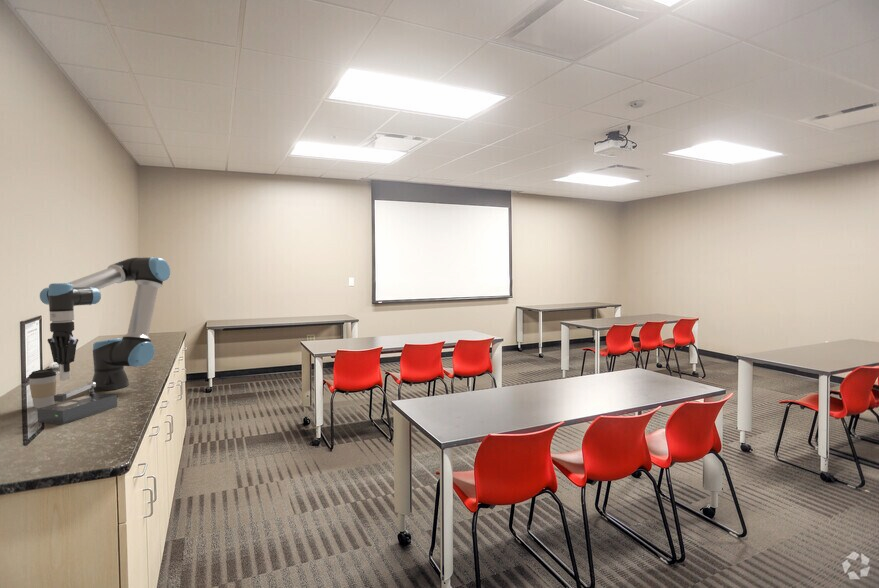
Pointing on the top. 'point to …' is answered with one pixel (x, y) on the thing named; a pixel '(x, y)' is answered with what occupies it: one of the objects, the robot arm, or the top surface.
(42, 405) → the coffee cup
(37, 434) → the top surface
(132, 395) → the top surface
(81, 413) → the lever switch
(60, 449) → the top surface
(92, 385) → the grey long bar
